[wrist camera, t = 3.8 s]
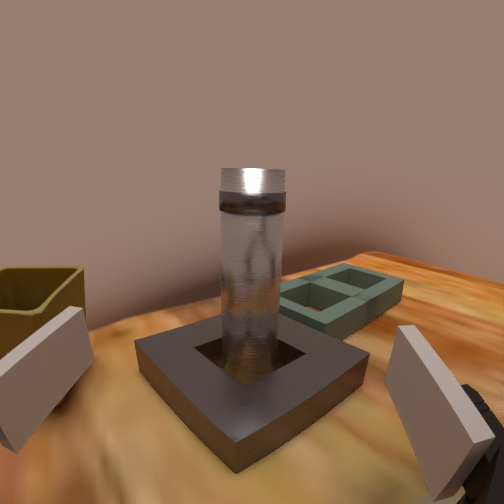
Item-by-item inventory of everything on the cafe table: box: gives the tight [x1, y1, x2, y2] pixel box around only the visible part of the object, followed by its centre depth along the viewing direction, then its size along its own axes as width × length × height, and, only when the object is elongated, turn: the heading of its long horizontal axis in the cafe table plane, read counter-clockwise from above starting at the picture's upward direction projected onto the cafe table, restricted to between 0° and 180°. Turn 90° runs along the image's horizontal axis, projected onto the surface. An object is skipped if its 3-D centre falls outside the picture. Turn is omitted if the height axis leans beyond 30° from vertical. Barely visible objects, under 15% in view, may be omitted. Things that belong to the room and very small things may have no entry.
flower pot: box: [0, 266, 86, 406], centre depth 19 cm, size 9×9×9 cm
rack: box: [279, 263, 404, 341], centre depth 37 cm, size 10×18×3 cm, turn 131°
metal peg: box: [219, 168, 286, 386], centre depth 22 cm, size 4×4×16 cm
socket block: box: [134, 313, 370, 473], centre depth 23 cm, size 13×13×3 cm
